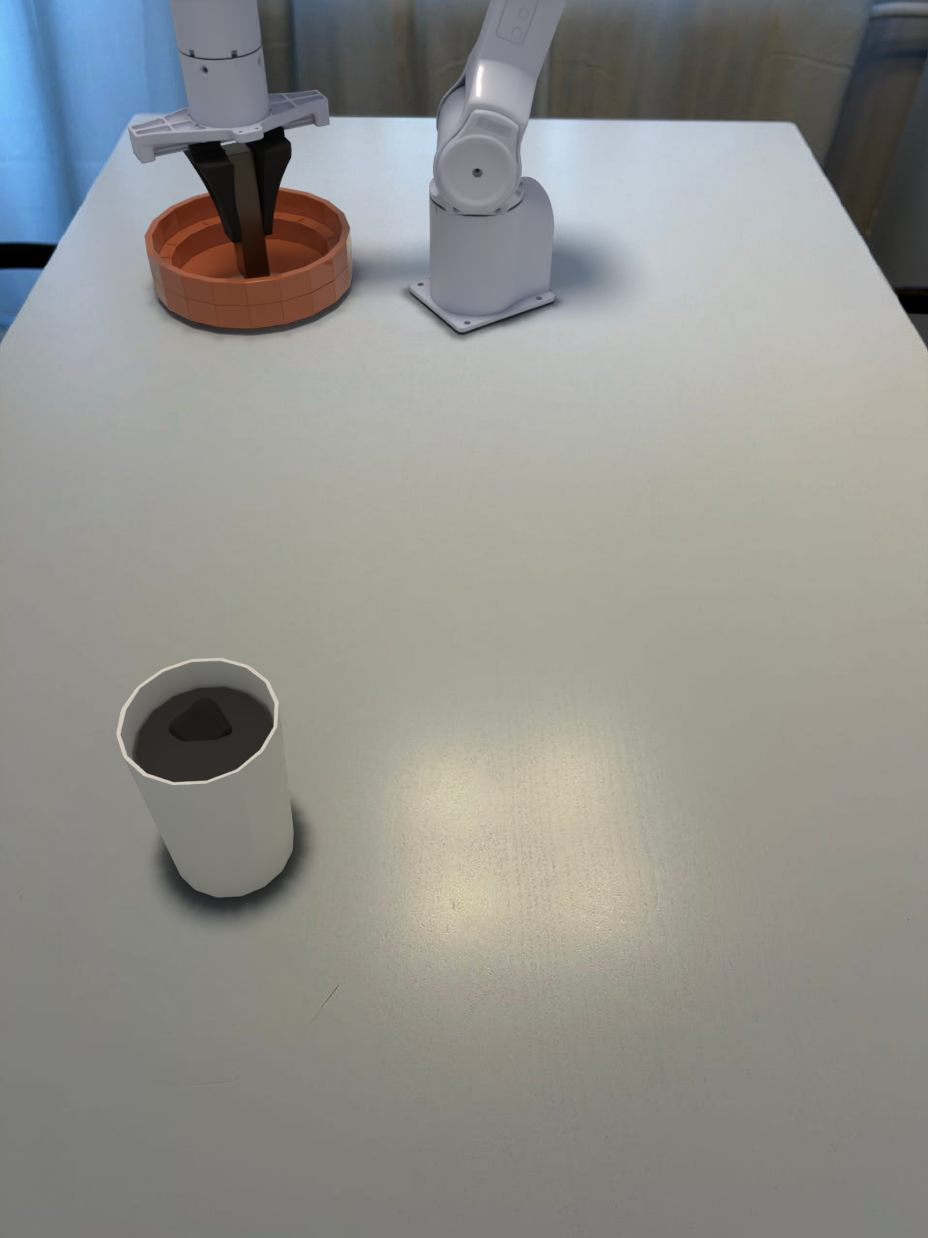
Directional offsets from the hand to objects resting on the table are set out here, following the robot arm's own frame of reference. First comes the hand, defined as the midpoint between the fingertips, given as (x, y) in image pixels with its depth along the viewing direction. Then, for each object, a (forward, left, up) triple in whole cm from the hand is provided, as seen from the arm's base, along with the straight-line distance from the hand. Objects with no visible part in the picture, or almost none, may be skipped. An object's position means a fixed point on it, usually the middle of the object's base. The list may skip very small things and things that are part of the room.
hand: (248, 233), depth 81 cm
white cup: (+23, +46, -6) cm, 52 cm away
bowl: (-1, -2, -5) cm, 6 cm away
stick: (0, 0, -3) cm, 3 cm away
